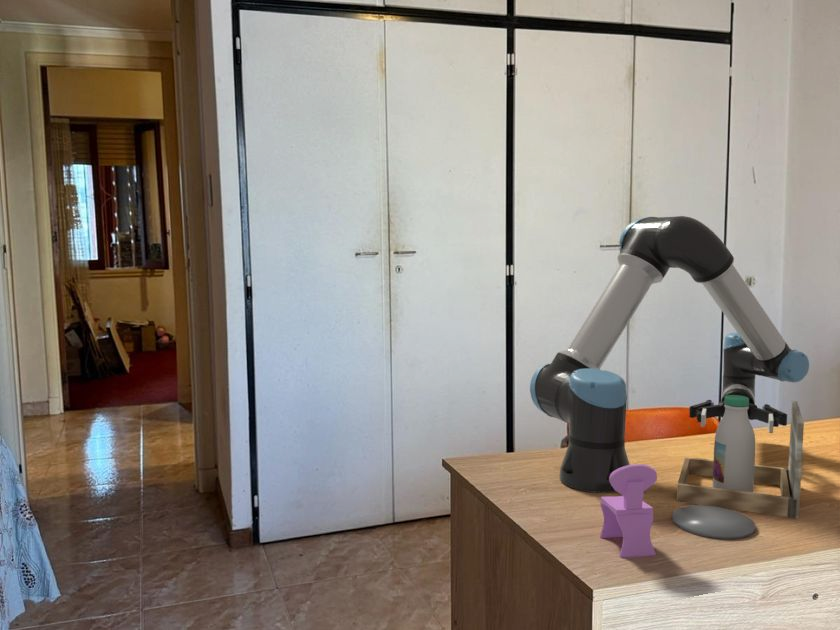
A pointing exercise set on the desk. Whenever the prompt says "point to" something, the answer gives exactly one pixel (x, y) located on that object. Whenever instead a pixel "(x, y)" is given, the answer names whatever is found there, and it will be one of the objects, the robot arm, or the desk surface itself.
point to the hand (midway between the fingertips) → (736, 424)
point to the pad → (713, 522)
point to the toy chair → (630, 510)
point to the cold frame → (763, 474)
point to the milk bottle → (734, 447)
